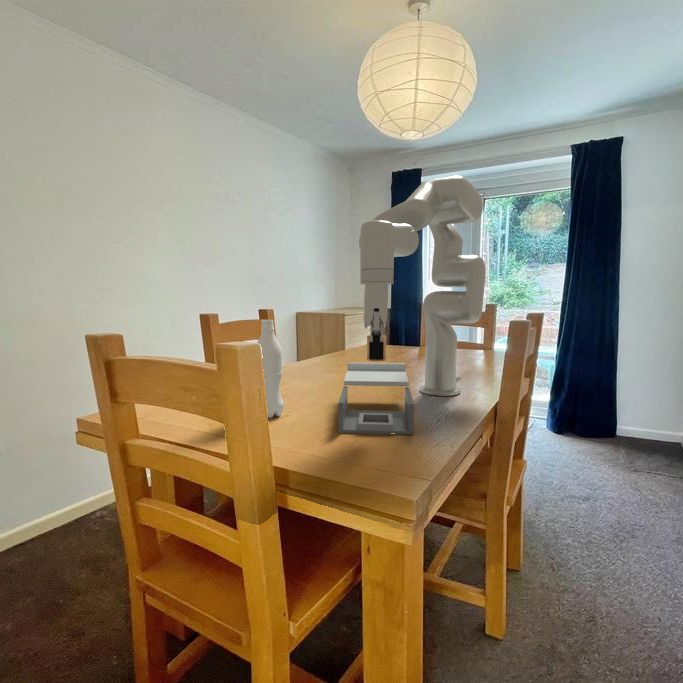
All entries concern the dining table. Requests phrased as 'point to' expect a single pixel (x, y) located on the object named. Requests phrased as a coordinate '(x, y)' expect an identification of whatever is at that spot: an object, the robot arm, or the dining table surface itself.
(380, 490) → the dining table surface
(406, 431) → the housing
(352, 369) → the lid
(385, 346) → the tan egg-shaped pebble
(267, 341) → the water bottle
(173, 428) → the dining table surface
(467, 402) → the dining table surface
